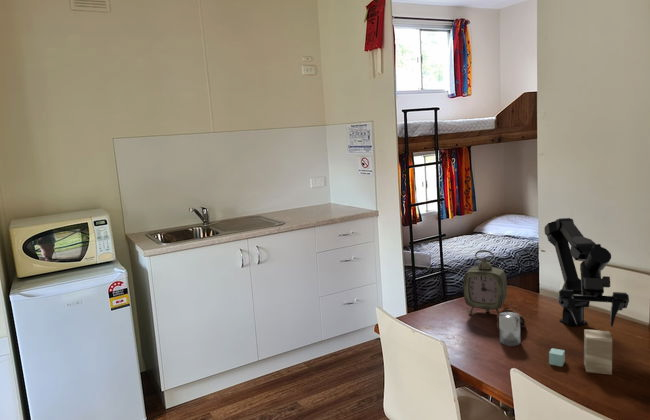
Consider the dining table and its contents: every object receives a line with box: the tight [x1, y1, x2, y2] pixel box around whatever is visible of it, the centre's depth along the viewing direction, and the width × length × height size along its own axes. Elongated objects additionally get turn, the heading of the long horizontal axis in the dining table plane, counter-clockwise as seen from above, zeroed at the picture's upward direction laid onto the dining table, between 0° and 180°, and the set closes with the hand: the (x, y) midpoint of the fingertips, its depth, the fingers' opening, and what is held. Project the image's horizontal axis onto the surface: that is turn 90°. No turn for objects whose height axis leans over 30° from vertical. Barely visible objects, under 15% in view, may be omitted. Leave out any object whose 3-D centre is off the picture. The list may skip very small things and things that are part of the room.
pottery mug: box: [496, 307, 528, 331], centre depth 173 cm, size 12×10×8 cm
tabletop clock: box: [462, 249, 508, 316], centre depth 187 cm, size 14×9×25 cm, turn 58°
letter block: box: [548, 347, 566, 367], centre depth 147 cm, size 4×4×4 cm
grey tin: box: [498, 312, 521, 347], centre depth 162 cm, size 6×6×9 cm
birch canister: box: [583, 329, 613, 375], centre depth 141 cm, size 6×6×10 cm
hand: (594, 324), depth 147 cm, fingers open, 9 cm apart
